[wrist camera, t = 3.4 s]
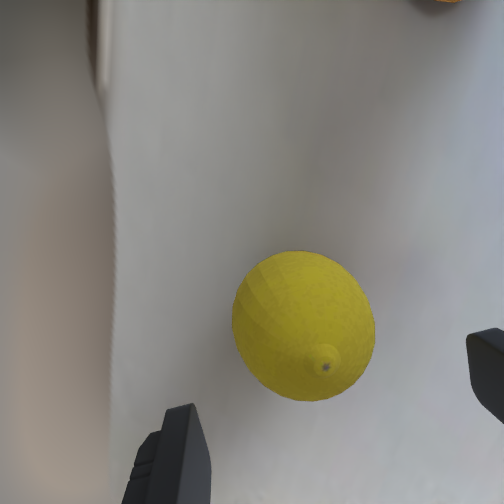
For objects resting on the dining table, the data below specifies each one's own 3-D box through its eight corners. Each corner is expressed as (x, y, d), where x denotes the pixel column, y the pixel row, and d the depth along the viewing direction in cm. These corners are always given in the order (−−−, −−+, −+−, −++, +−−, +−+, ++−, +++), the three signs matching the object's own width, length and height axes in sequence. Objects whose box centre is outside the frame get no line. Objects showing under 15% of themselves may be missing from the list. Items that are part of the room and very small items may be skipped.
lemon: (295, 358, 20) (341, 474, 12) (208, 304, 19) (199, 393, 11) (357, 275, 19) (448, 342, 12) (271, 215, 18) (306, 243, 11)
